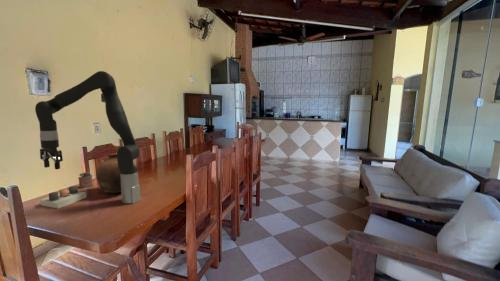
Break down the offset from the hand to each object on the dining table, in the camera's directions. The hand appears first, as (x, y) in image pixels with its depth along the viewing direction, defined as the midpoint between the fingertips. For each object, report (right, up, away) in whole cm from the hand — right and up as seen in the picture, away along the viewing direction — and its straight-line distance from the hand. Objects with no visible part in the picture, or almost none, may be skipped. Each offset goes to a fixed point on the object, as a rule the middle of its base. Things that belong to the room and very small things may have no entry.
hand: (52, 168), depth 132 cm
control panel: (+1, -20, +7) cm, 21 cm away
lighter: (-2, -16, +30) cm, 35 cm away
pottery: (+22, -18, +25) cm, 38 cm away
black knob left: (0, -17, +1) cm, 17 cm away
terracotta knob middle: (+1, -16, +7) cm, 18 cm away
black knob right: (+3, -16, +12) cm, 20 cm away
